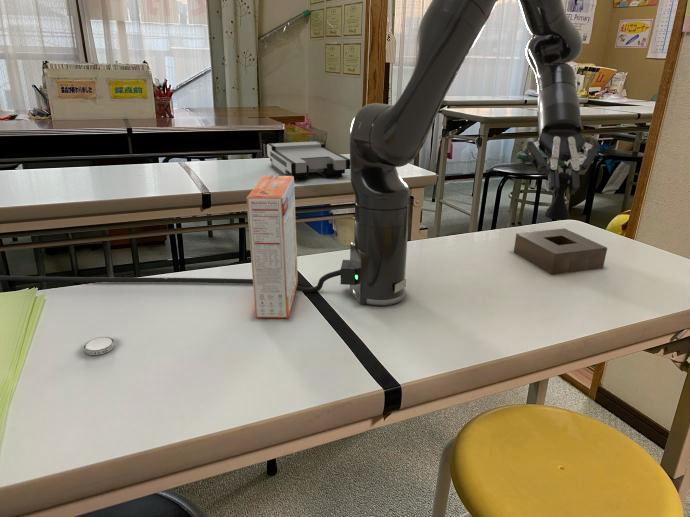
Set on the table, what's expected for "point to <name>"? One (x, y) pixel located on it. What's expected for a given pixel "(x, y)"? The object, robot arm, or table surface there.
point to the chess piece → (560, 198)
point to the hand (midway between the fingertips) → (564, 191)
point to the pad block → (559, 251)
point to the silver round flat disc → (99, 345)
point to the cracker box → (273, 245)
